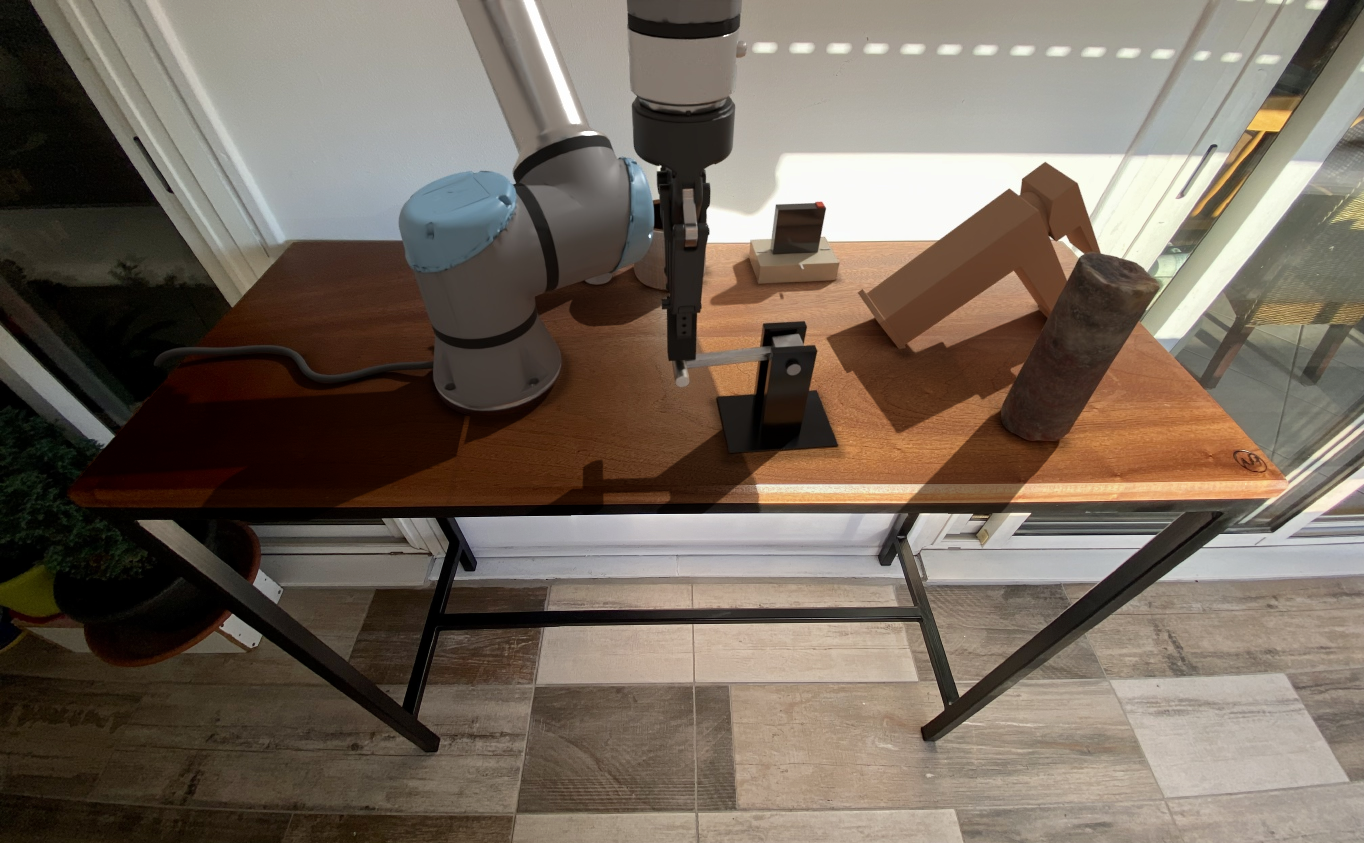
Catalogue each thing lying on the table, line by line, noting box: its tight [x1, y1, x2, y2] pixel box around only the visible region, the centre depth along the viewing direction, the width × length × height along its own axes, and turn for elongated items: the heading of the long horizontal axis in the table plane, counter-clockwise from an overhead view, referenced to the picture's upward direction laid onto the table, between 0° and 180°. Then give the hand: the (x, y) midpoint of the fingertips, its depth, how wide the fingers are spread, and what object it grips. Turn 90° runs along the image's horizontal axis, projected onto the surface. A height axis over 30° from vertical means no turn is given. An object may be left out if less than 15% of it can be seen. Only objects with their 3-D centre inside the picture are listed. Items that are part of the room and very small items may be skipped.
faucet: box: [857, 161, 1102, 350], centre depth 78 cm, size 7×23×25 cm
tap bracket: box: [716, 320, 839, 455], centre depth 64 cm, size 12×9×13 cm
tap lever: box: [671, 334, 805, 388], centre depth 60 cm, size 13×6×2 cm, turn 96°
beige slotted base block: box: [748, 236, 840, 285], centre depth 92 cm, size 12×11×3 cm
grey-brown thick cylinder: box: [1000, 252, 1161, 442], centre depth 62 cm, size 8×7×20 cm
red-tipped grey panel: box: [770, 201, 827, 254], centre depth 88 cm, size 7×2×7 cm, turn 96°
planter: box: [633, 198, 708, 292], centre depth 88 cm, size 11×11×10 cm
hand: (681, 355), depth 59 cm, fingers closed
